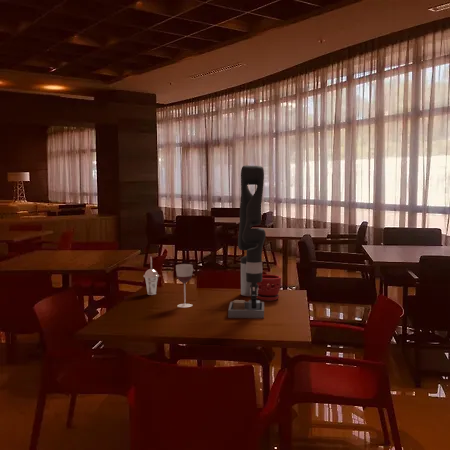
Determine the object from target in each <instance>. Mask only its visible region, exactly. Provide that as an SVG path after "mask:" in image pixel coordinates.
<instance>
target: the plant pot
mask: <svg viewBox="0 0 450 450" xmlns="http://www.w3.org/2000/svg"><path fill="white" fill-rule="evenodd" d="M281 284H282V277H281V276H280V275H275V274H262V282H259V283H257V285H258V286H259V287H258V296H257V300H260V301H265V302H268V301H269V302H270V301H272V302H273V301H276V300H278V299H279V298H280V294H279V293H280V290H281Z"/></svg>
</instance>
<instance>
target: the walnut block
mask: <svg viewBox="0 0 450 450" xmlns="http://www.w3.org/2000/svg"><path fill="white" fill-rule="evenodd" d="M232 302H233V310H245V302H246V300H245V299H244V300H243V299H240V300H239V299H233V301H232Z"/></svg>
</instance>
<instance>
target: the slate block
mask: <svg viewBox="0 0 450 450" xmlns="http://www.w3.org/2000/svg"><path fill="white" fill-rule="evenodd" d="M248 302H249V310H260V302H261V300H260V299H257V300H256V308H252V300H251V299H249V300H248Z"/></svg>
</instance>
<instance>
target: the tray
mask: <svg viewBox="0 0 450 450" xmlns="http://www.w3.org/2000/svg"><path fill="white" fill-rule="evenodd" d="M233 302H234V301H230V302H229V305H228V310H227V313H228V314H227V318H228V319H264V318H265V302H264V301H260V310H249V301H245V310H233Z"/></svg>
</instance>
